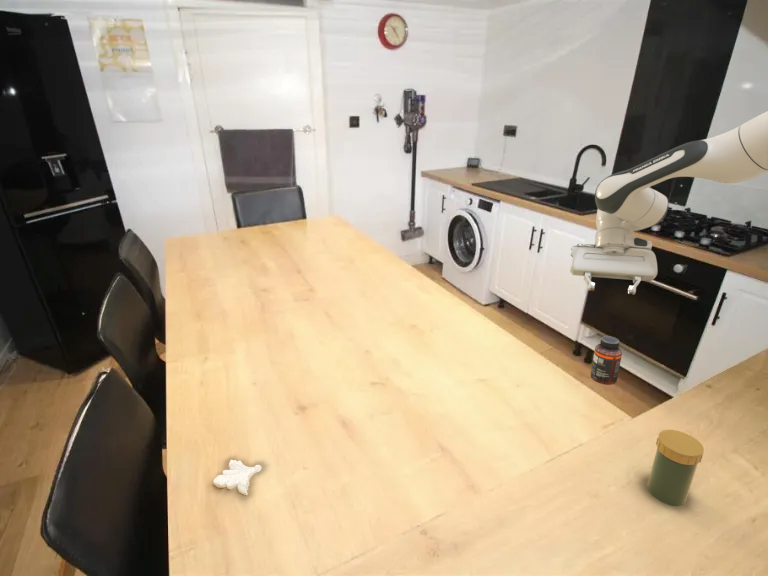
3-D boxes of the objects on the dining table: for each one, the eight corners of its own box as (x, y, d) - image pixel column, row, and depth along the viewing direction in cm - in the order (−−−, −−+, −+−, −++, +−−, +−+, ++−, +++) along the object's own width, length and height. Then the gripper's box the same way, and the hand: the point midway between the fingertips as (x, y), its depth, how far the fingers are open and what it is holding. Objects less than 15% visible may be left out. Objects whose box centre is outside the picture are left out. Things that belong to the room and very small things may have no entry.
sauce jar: (688, 493, 70) (703, 443, 67) (682, 513, 66) (698, 462, 63) (650, 476, 74) (663, 428, 70) (643, 494, 70) (656, 445, 66)
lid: (703, 450, 67) (706, 441, 66) (697, 471, 63) (700, 461, 62) (660, 433, 71) (662, 424, 70) (652, 452, 67) (654, 443, 66)
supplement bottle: (615, 376, 104) (623, 336, 100) (617, 388, 99) (625, 347, 95) (589, 371, 106) (596, 332, 103) (589, 383, 101) (597, 342, 97)
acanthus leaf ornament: (247, 498, 71) (245, 490, 71) (210, 494, 72) (208, 486, 72) (265, 465, 78) (263, 457, 78) (231, 462, 79) (229, 454, 78)
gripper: (572, 237, 113) (568, 282, 108) (659, 241, 105) (659, 290, 100) (570, 249, 118) (566, 292, 113) (652, 254, 111) (652, 300, 106)
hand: (611, 291), depth 107 cm, fingers open, 8 cm apart
